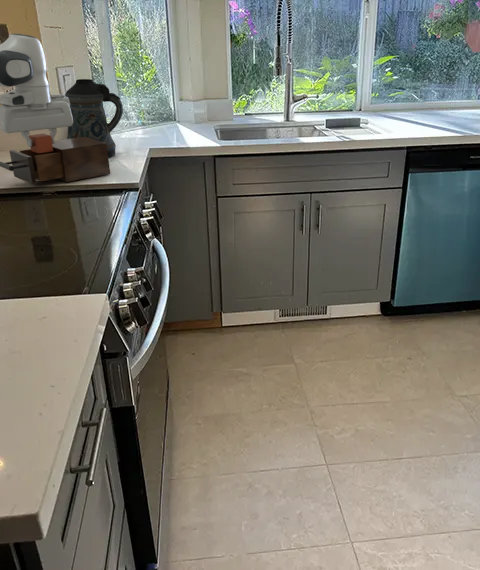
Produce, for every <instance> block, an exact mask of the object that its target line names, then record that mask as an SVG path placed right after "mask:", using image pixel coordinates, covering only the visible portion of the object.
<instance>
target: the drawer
mask: <svg viewBox="0 0 480 570" xmlns="http://www.w3.org/2000/svg"><path fill="white" fill-rule="evenodd" d="M9 156H10V160H11V161H6V162H4V161H0V168H3V169H5V170H8V171H10V172H13V176H14V178H16V179H18V180H21V181H23V182H26V183H28V184H31V185H37V181H38V182H44V181H45V182H46V181H50V180H56V179H58V178H61V177H64V171H63V164H62V157H61V152H60V151H57V150H54V149H53V151H52V152H45V153H36V152H33V151H31V148H27V149H20V150H15V149H11V150H9Z"/></svg>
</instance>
